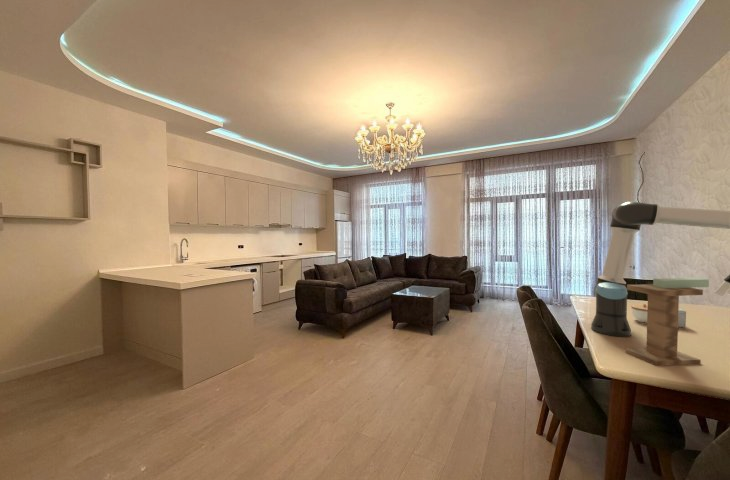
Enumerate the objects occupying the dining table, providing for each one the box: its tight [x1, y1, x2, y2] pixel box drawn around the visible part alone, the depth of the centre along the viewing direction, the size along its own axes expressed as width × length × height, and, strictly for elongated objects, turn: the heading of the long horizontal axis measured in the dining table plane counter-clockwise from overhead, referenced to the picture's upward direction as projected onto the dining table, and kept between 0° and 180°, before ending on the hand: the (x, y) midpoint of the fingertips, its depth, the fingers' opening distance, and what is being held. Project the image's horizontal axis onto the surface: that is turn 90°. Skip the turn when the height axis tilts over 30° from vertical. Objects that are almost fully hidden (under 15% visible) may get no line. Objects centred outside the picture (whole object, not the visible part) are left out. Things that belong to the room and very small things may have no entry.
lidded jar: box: [631, 303, 648, 324], centre depth 160 cm, size 11×11×9 cm
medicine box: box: [678, 308, 687, 328], centre depth 152 cm, size 8×4×9 cm, turn 58°
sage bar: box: [652, 277, 710, 288], centre depth 114 cm, size 19×4×3 cm, turn 95°
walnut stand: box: [625, 283, 704, 367], centre depth 114 cm, size 18×12×28 cm, turn 95°
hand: (724, 294), depth 128 cm, fingers open, 13 cm apart
